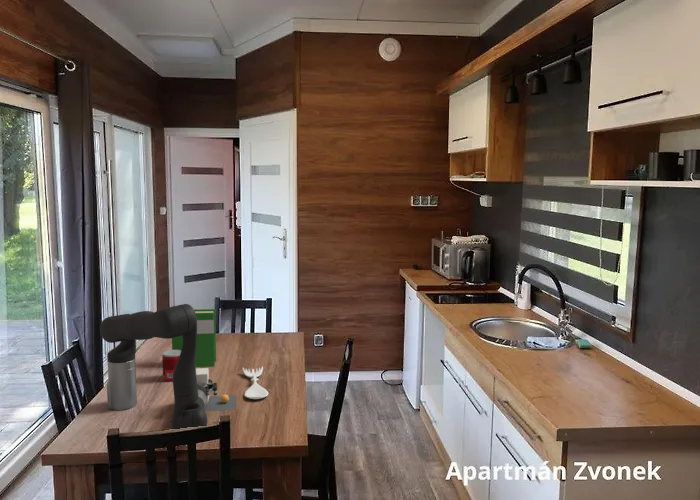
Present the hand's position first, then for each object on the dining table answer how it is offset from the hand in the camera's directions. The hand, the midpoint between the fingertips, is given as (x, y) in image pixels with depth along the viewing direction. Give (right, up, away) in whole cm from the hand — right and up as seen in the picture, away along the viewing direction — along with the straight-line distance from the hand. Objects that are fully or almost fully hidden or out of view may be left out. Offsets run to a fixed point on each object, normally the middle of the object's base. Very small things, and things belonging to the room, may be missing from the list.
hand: (199, 382), depth 199 cm
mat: (+4, -8, -1) cm, 9 cm away
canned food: (-18, -5, +25) cm, 31 cm away
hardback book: (-13, -2, +42) cm, 44 cm away
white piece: (+17, -6, +17) cm, 25 cm away
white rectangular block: (0, -6, -1) cm, 7 cm away
